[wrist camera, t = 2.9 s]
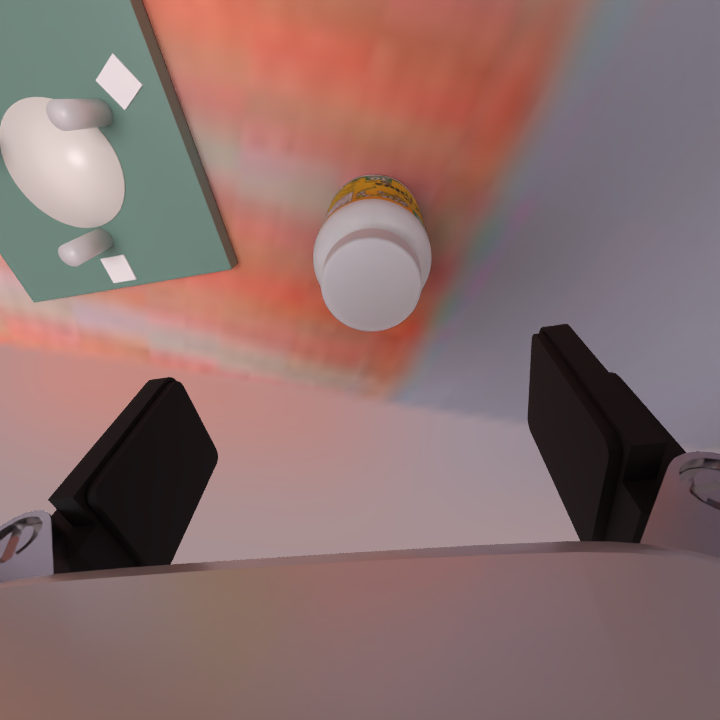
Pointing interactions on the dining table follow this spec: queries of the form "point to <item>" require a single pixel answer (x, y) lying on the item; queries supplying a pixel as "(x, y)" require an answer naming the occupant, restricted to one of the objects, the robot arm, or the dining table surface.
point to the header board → (97, 154)
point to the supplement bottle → (372, 254)
